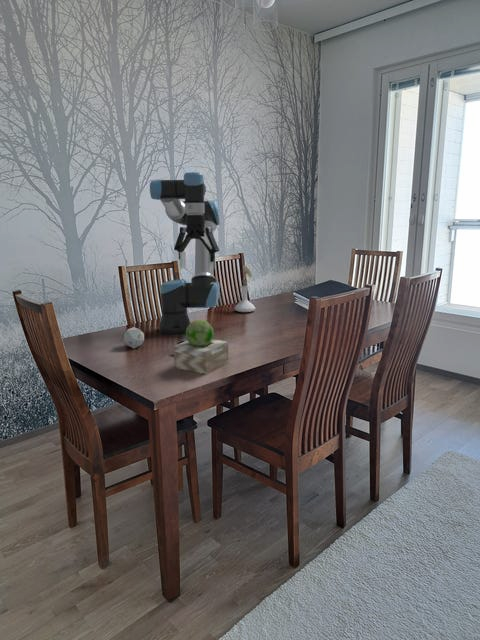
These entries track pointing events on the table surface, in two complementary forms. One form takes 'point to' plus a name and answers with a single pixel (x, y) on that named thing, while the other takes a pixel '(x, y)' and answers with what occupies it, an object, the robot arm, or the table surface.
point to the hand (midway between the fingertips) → (196, 269)
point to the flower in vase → (245, 296)
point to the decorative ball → (199, 333)
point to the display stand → (201, 356)
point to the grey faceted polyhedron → (133, 337)
